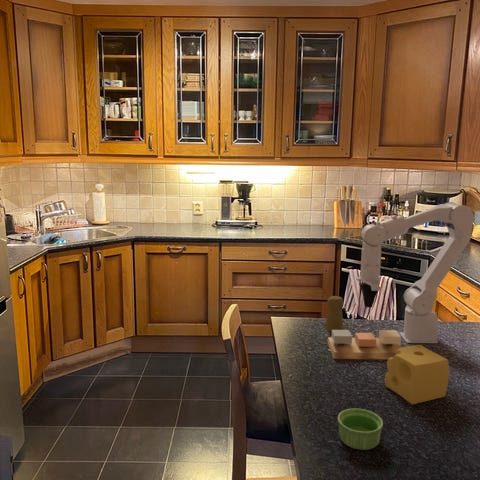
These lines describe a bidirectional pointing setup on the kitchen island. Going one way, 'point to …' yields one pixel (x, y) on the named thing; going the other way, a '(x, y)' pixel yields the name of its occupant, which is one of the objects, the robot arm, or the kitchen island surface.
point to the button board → (362, 350)
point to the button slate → (342, 336)
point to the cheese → (417, 374)
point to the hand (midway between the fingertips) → (368, 306)
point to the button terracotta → (365, 339)
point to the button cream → (389, 337)
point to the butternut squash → (334, 314)
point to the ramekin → (359, 428)
